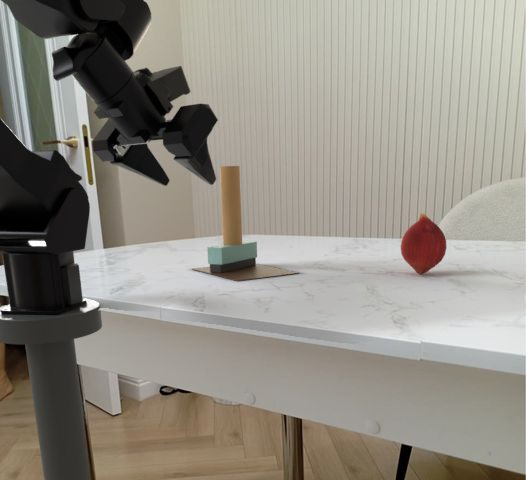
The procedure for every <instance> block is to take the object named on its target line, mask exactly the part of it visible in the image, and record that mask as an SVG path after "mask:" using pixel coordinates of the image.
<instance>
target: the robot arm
mask: <svg viewBox="0 0 526 480" xmlns="http://www.w3.org/2000/svg"><path fill="white" fill-rule="evenodd" d="M0 1H1V2H3V3H4V4H5V5H6V6H7V7H8V9H9V12H10V13H11V15H12V17H13V18H14V19H15V20H16V21H17V22H18V23H20V25H22V26H24V27H25V28H26V29H28V30H29V31H30V32H32V33H33V34H34V35H36V36H37V37H38V38H39V39H40V38H41V39H43V40H49V39H50V40H51V39H57V38H63V37H69V36H73V37H72V38H71V39H70V41H69V43H68V44H67V45H66V46H62V47H60V48H58V49H56V50H54V51H52V52H51V57H52V61H53V62H52V64H53V65H52V78H53V80H54V81H56V82H59V81H61V80H64V79H66V78H68V77H70V76H72V78H73V79H74V80H75V81H76V83H78V85H79V86H80V87H81V89H82V90H83V91H84V92H85V93H86V95H87V96H88V97H89V98H90V99H91V101H92V102H93V103H94V104H95V105H96V106H97V107H96V108H95V110H94V111H93V114H94V115H95V116H96V117H97V118H98V119H99V120H101V119H102V120H103V119H107V120H106V121H105V123H104V124H103V125H102V126H101V128H100V130H99V131H98V133H96V135H95V136H94V138H93V139H92V141H91V143H92V152H93V153H94V154H95V155H96V156H97V157H98V158H99V159H100V160H101V162H103V163H104V162H109V163H110V165H112V166H117V167H119V168H122V169H124V170H127V171H129V172H132V173H134V174H137V175H139V176H141V177H144V178H146V179H148V180H150V181H152V182H155V183H156V184H159V185H161V186H163V187H166V186H168V184H170V180H171V179H170V178H169V176H168V174H167V173H166V171H165V170H164V167H162V165H161V164H160V163H159V161H158V160H157V158H156V156H155V155H154V153H152V150H151V149H150V148H149V146H148V144H149V143H150V142H152V141H153V142H154V141H162V146H163V147H164V148H165V149H166V150H167V152H168V153H170V154H172V155H173V156H174V157H173V160H174V161H175V162H176V163H177V164H179V165H181V166H182V167H183V168H185V170H187V171H189V172H191V173H192V174H193V175H195V176H196V177H197V178H199V179H200V180H201V181H203V182H205V183H206V184H208V185H210V186H212V185H214V184H215V183H216V181H217V177H216V172H215V170H214V166H213V162H212V159H211V156H210V155H211V154H210V151H209V144H208V137H209V136H210V135H211V133H212V131H213V129H214V127H215V125H216V124H217V122H218V121H219V119H218V116H217V115H216V113H215V112H214V110H213V109H212V107H211V106H210V104H209V103H195V104H188V105H182V106H181V105H180V107H179V108H178V110H177V111H176V113H175V114H174V115H173V116H172V119H167V118H166V115H169V114H170V113H171V111H172V110H173V108H174V105H173V103H172V102H173V101H176V99H177V100H178V98H180V97H182V96H187V95H189V94H190V93H191V91H192V90H191V88H190V86H189V83H188V80H187V77H186V75H185V71H184V70H183V69H184V68H183V67H182V65H178V66H174V67H169V68H164V69H161V70H158V71H154V72H152V71H151V70H150V69H149V68H148V67H144V68H139V69H137V70H134V71H133V70H132V68H131V67H130V66H129V64H128V63H127V62H126V61H128V60H130V59H131V58H132V57H133V56H134V54H135V52H136V51H137V49H138V47H139V46H140V44H141V42H142V40H143V39H144V38H145V36H146V33H147V32H148V30H149V28H150V27H151V24H152V20H153V18H152V11H151V7H150V6H149V4H148V3H147V1H145V0H0ZM82 180H83V177H82V175H80V174H78V173H77V172H75V171H74V169H72V167H71V166H70V164H69V163H68V161H67V160H66V158H65V156H64V155H63V154H61V153H60V152H59V151H58V150H56V149H52V150H51V149H49V150H36V151H35V150H33V151H32V150H30V149H29V148H28V147H27V146H26V145H25V144H24V143H23V142H22V141H21V140H20V138H19V137H17V135H16V134H15V133H14V132H13V131H12V129H11V128H10V127H9V126H8V125H7V124H6V123H5V121H4V120H3V119H2V118H1V117H0V253H1V256H2V260H3V261H2V262H3V268H4V275H5V283H6V287H7V288H6V289H7V296H8V304H9V305H10V307H7V308H4V309H2V310H1V314H4V315H60V314H62V313H65V312H67V311H69V310H72V309H74V308H77V307H79V306H81V305H84V304H86V303H87V300H86V299H87V298H83V291H82V281H81V272H80V265H79V264H78V262H75V253H74V252H77V251H83V250H85V249H86V244H87V236H88V228H89V219H90V212H91V211H90V210H91V207H90V206H91V205H90V200H89V195H88V192H87V191H86V188H84V186H83V184H82V183H81V182H80V181H82Z"/></svg>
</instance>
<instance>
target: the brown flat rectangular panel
mask: <svg viewBox="0 0 526 480" xmlns="http://www.w3.org/2000/svg"><path fill="white" fill-rule="evenodd" d="M191 270H192V271H197V272H201V273H205V274H208V275H211V276H216V277H220V278H222V279H223V278H224V279H228V280H232V281H235V282H243V281H250V280H258V279H265V278H274V277H282V276H289V275H290V276H291V275H297V274H300V272H299V271H293V270H288V269H282V268H278V267H272V266H268V265H263V264H257V263H256V265H254V266H249V267H245V268H241V269H237V270H232V271H228V272H224V273H212V272H210V266H204V267H196V268H191Z"/></svg>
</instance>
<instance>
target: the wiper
mask: <svg viewBox="0 0 526 480" xmlns="http://www.w3.org/2000/svg"><path fill="white" fill-rule="evenodd" d="M219 177H220V199H221V202H220V203H221V221H222V223H221V224H222V244H218V245H212V246H207V248H206V250H207V264H208V265H209V267H210V272H212V273H224V272H228V271H232V270H237V269H241V268H245V267H249V266H254V265H256V264H257V260H256V259H257V258H258V242H257V241H255V240H254V241H253V240H251V241H250V240H243V226H242V225H243V223H242V198H241V197H242V196H241V195H242V193H241V192H242V191H241V167H240V165H221V166H219Z"/></svg>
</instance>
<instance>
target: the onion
mask: <svg viewBox="0 0 526 480" xmlns="http://www.w3.org/2000/svg"><path fill="white" fill-rule="evenodd" d="M446 252H447V239H446V237H445V233H444V232H443V230H442V229H441V228H440V226H438V224H436V223H435V222H434V221H433V220H432V219H430V218H429V217H428V215H427V214H426V213H424V212H420V214H419V218H418V220H417V221H416V222H415V223H413V224H412V225H411V226H410V227H409V228H408V229H407V230H406V231H405V232H404V233H403V236H402V239H401V244H400V253H401V256H402V258H403V259H404V261H405V262H406V263H407V264H408V266H410V267H411V268H412V269H413V270H414V271H415V273H416V274H418V275H424V274H426V273H427V272H429V271H430V270H432V269H434V268H435V267H436V266H438V265H439V264H440V263H441V262H442V260H443V259H444V257H445V255H446Z"/></svg>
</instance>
